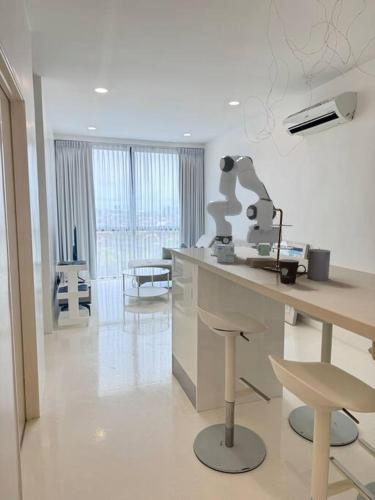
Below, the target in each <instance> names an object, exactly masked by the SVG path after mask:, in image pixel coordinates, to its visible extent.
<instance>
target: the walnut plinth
mask: <svg viewBox="0 0 375 500" xmlns="http://www.w3.org/2000/svg"><path fill="white" fill-rule="evenodd" d="M245 263H246V265H247V266H249V267H250V268H252V269H265V268H264V267H276V265H277V258H275V257H246V262H245ZM278 265H279V261H278Z"/></svg>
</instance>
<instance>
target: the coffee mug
mask: <svg viewBox="0 0 375 500" xmlns="http://www.w3.org/2000/svg"><path fill="white" fill-rule="evenodd" d="M278 260H279V268H278V269H279V280H280V283H281V284H285V285H296V280H297V279H298V277H301V276H303V275H304V274H305V273H307V272H306V271H307V267H306V266H305V265H304V264H299V262H300V260H298V259H291V258H284V259H283V258H282V259H278ZM300 267H302V268H303V269H304V271H303V272H302V273H300V274H298V270H299V268H300Z"/></svg>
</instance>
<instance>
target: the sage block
mask: <svg viewBox="0 0 375 500" xmlns="http://www.w3.org/2000/svg"><path fill="white" fill-rule="evenodd" d="M258 247H259V248H260V251H257V254H258V256H261V257H270V253H271V251H270V244H259V245H258Z"/></svg>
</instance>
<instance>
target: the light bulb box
mask: <svg viewBox="0 0 375 500" xmlns="http://www.w3.org/2000/svg"><path fill="white" fill-rule="evenodd" d="M234 253H235V244H234V245H219V244H218V245H217V256H216V259H217V260H216V262H217V263H232V264H234V263H235V255H234Z"/></svg>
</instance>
